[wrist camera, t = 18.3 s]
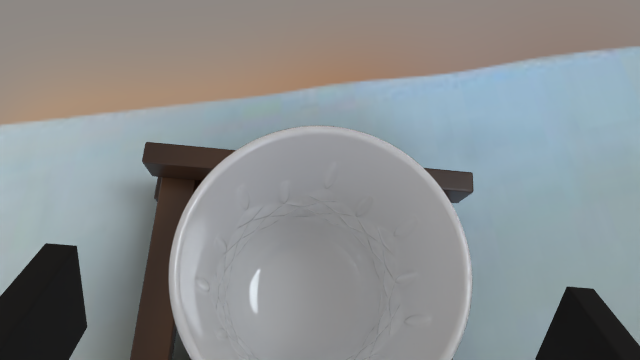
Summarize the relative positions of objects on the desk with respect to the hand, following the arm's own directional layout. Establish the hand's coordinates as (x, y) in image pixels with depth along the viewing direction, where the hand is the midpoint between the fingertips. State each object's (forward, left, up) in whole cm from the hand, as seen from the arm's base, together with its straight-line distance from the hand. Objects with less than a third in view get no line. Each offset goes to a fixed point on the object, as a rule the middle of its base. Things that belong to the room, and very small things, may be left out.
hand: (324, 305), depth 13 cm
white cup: (0, -1, -9) cm, 9 cm away
